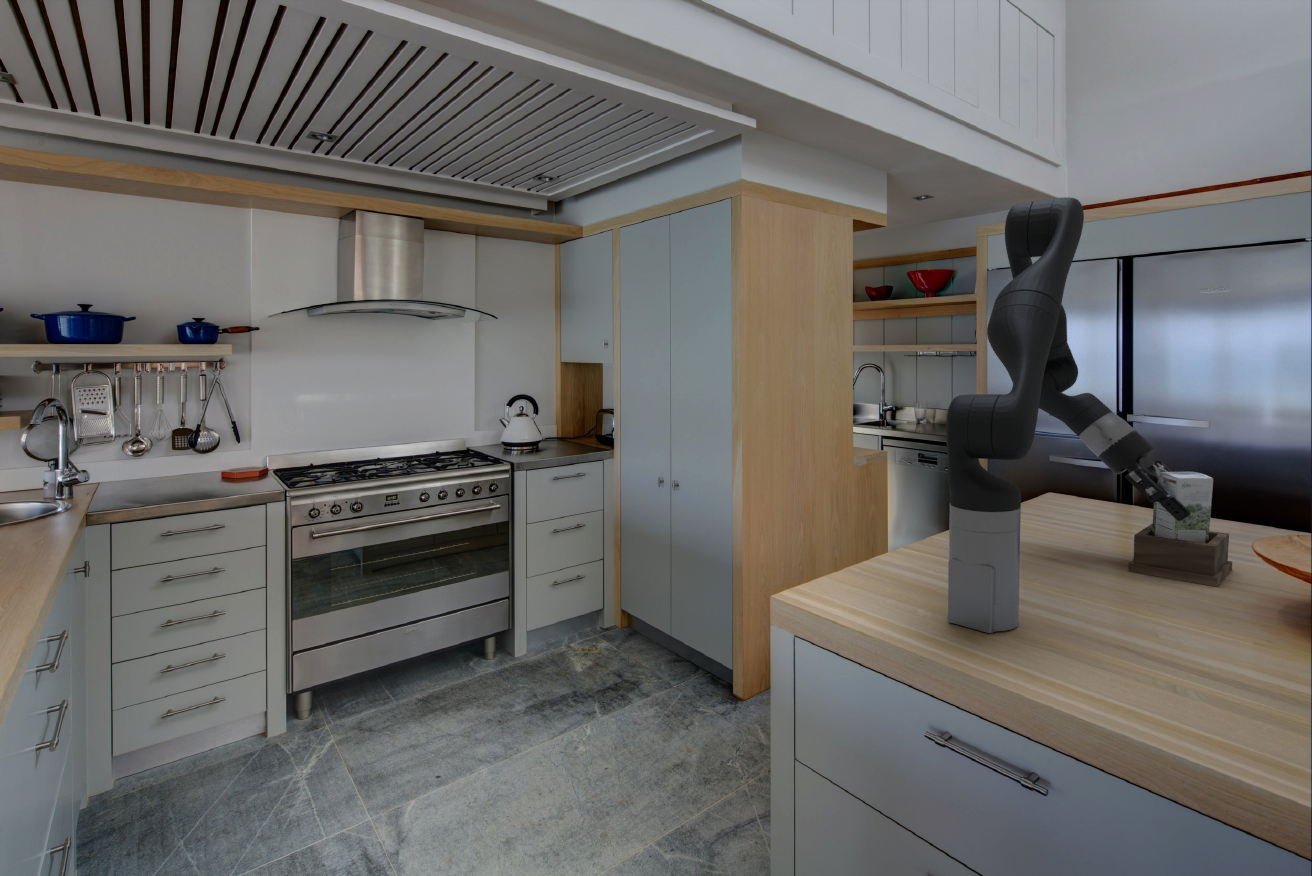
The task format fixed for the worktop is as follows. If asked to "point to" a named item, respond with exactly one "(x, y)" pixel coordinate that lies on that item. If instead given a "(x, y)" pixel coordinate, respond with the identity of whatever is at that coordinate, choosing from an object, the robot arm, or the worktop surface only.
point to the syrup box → (1192, 495)
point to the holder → (1182, 557)
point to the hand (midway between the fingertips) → (1191, 513)
